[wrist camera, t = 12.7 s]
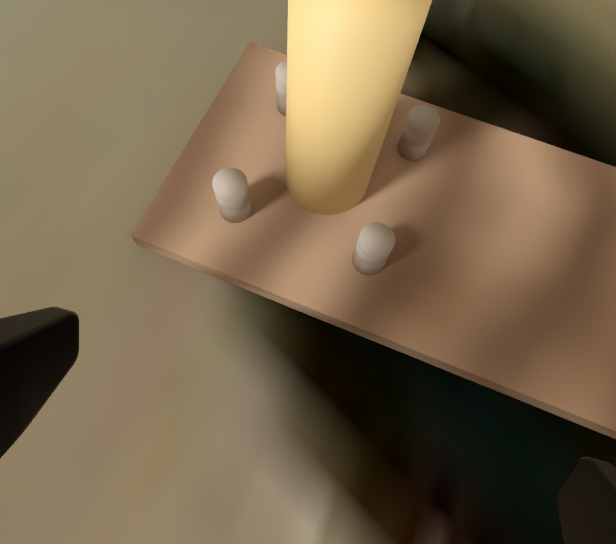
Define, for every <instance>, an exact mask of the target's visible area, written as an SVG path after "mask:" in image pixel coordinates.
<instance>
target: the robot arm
mask: <svg viewBox="0 0 616 544" xmlns="http://www.w3.org/2000/svg"><path fill="white" fill-rule="evenodd" d="M78 352H79V318H78V315H77V314H76V313H75V312H73V311H69V310H66V309H62V308H59V307H50V308H45V309H41V310H36V311H32V312H27V313H23V314H18V315H14V316H10V317H5V318H1V319H0V458H1V457H2V456H3V455H4V454H5V453H6V451H7V450H8V449H9V448H10V447H11V446H12V445H13V444H14V442H15V441H16V440H17V439H18V438H19V437H20V435H21V434H22V433H23V432H24V431H25V429H26V428H27V427H28V425H29V424H30V423H31V422H32V420H33V419H34V418H35V416H36V415H37V413H38V412H39V411H40V409H41V408H42V407H43V405H44V404H45V403H46V401H47V400H48V398H49V397H50V396H51V394H52V393H53V392H54V390H55V389H56V388H57V386H58V385H59V384H60V382H61V381H62V379H63V378H64V377H65V375H66V374H67V373H68V371H69V370H70V369H71V367H72V366H73V364H74V363H75V361H76V359H77V356H78ZM558 510H559V516H560V522H561V528H562V534H563V540H564V544H616V468H615V467H614V466H613V465H611V464H609V463H607V462H604V461H601V460H597V459H593V458H590V457H582V458H581V459H579V460H578V461H577V462H576V464H575V466H574V467H573V469H572V470H571V472H570V474H569V475H568V477H567V478H566V480H565V481H564V483H563V485H562V486H561V488H560V490H559V493H558Z"/></svg>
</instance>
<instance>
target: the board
mask: <svg viewBox="0 0 616 544" xmlns="http://www.w3.org/2000/svg"><path fill="white" fill-rule="evenodd" d="M286 96H287V55H286V54H284V53H281V52H278V51H275V50H272V49H269V48H266V47H263V46H260V45H257V44H254V43H251V42H250V43H249V45H248V46H247V48H246V50H245V51H244V53H243V55H242V56H241V58H240V59H239V61H238V63H237V64H236V66H235V67H234V69H233V71H232V72H231V74H230V76H229V77H228V79H227V80H226V82H225V84H224V85H223V87H222V89H221V90H220V92H219V93H218V95H217V97H216V98H215V100H214V102H213V103H212V105H211V106H210V108H209V110H208V111H207V113H206V115H205V116H204V118H203V119H202V121H201V123H200V124H199V126H198V127H197V129H196V131H195V132H194V134H193V136H192V137H191V139H190V140H189V142H188V144H187V145H186V147H185V149H184V150H183V152H182V153H181V155H180V157H179V158H178V160H177V162H176V163H175V165H174V166H173V168H172V170H171V171H170V173H169V175H168V176H167V178H166V179H165V181H164V183H163V184H162V186H161V187H160V189H159V191H158V192H157V194H156V196H155V197H154V199H153V200H152V202H151V204H150V205H149V207H148V209H147V210H146V212H145V213H144V215H143V217H142V218H141V220H140V222H139V223H138V225H137V226H136V228H135V230H134V231H133V233H132V235H131V237H132V238H133V239H134V241H135V242H136V243H137V245H138V246H140V247H142V248H145V249H147V250H150V251H152V252H155V253H157V254H160V255H162V256H165V257H167V258H170V259H172V260H175V261H177V262H180V263H182V264H184V265H187V266H189V267H192V268H194V269H197V270H199V271H202V272H204V273H207V274H209V275H212V276H214V277H217V278H219V279H221V280H224V281H226V282H229V283H231V284H234V285H236V286H239V287H241V288H244V289H246V290H249V291H251V292H254V293H256V294H259V295H261V296H263V297H266V298H268V299H271V300H273V301H276V302H278V303H281V304H283V305H286V306H288V307H291V308H293V309H296V310H298V311H301V312H303V313H305V314H308V315H310V316H313V317H315V318H318V319H320V320H323V321H325V322H328V323H330V324H333V325H335V326H338V327H340V328H343V329H345V330H347V331H350V332H352V333H355V334H357V335H360V336H362V337H365V338H367V339H370V340H372V341H375V342H377V343H380V344H382V345H384V346H387V347H389V348H392V349H394V350H397V351H399V352H402V353H404V354H407V355H409V356H412V357H414V358H417V359H419V360H422V361H424V362H426V363H429V364H431V365H434V366H436V367H439V368H441V369H444V370H446V371H449V372H451V373H454V374H456V375H459V376H461V377H464V378H466V379H468V380H471V381H473V382H476V383H478V384H481V385H483V386H486V387H488V388H491V389H493V390H496V391H498V392H501V393H503V394H505V395H508V396H510V397H513V398H515V399H518V400H520V401H523V402H525V403H528V404H530V405H533V406H535V407H538V408H540V409H543V410H545V411H547V412H550V413H552V414H555V415H557V416H560V417H562V418H565V419H567V420H570V421H572V422H575V423H577V424H580V425H582V426H585V427H587V428H589V429H592V430H594V431H597V432H599V433H602V434H604V435H607V436H609V437H612V438H614V439H616V167H613V166H611V165H608V164H605V163H602V162H599V161H596V160H593V159H590V158H587V157H584V156H581V155H578V154H576V153H573V152H570V151H567V150H564V149H561V148H558V147H555V146H552V145H549V144H546V143H543V142H540V141H538V140H535V139H532V138H529V137H526V136H523V135H520V134H517V133H514V132H511V131H508V130H505V129H503V128H500V127H497V126H494V125H491V124H488V123H485V122H482V121H479V120H476V119H473V118H470V117H467V116H465V115H462V114H459V113H456V112H453V111H450V110H447V109H444V108H441V107H438V106H435V105H432V104H430V103H427V102H424V101H421V100H418V99H415V98H412V97H409V96H406V95H403V94H400V95H399V97H398V100H397V103H396V106H395V109H394V112H393V115H392V118H391V121H390V124H389V126H388V129H387V132H386V135H385V138H384V141H383V144H382V147H381V150H380V152H379V155H378V158H377V161H376V164H375V167H374V170H373V173H372V176H371V178H370V181H369V184H368V187H367V190H366V193H365V195H364V197H363V198H362V200H361V201H360V202H359V203H358V204H357V205H356V206H355V207H353V208H352V209H350V210H348V211H346V212H344V213H340V214H335V215H322V214H317V213H314V212H311V211H308V210H306V209H305V208H303V207H301V206H300V205H299V204H298V203H297V202H296V201H295V200H294V199H293V198H292V197H291V195H290V193H289V192H288V189H287V186H286V182H285V151H286Z"/></svg>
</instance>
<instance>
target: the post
mask: <svg viewBox="0 0 616 544" xmlns="http://www.w3.org/2000/svg"><path fill="white" fill-rule="evenodd" d="M431 2H432V0H288V41H287V96H286V151H285V182H286V186H287V189H288V192H289V193H290V195H291V197H292V198H293V199H294V200H295V201H296V202H297V203H298V204H299V205H300V206H301V207H303V208H305V209H306V210H308V211H311V212H314V213H317V214H322V215H335V214H340V213H344V212H346V211H348V210H350V209H352V208H353V207H355V206H356V205H357V204H358V203H359V202H360V201H361V200H362V198H363V197H364V195H365V193H366V190H367V187H368V184H369V181H370V178H371V176H372V173H373V170H374V167H375V164H376V161H377V158H378V155H379V152H380V150H381V147H382V144H383V141H384V138H385V135H386V132H387V129H388V126H389V124H390V121H391V118H392V115H393V112H394V109H395V106H396V103H397V100H398V97H399V95H400V92H401V89H402V86H403V83H404V80H405V77H406V74H407V71H408V69H409V66H410V63H411V60H412V57H413V54H414V51H415V48H416V45H417V43H418V40H419V37H420V34H421V31H422V28H423V25H424V22H425V19H426V17H427V14H428V11H429V8H430V5H431Z"/></svg>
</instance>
